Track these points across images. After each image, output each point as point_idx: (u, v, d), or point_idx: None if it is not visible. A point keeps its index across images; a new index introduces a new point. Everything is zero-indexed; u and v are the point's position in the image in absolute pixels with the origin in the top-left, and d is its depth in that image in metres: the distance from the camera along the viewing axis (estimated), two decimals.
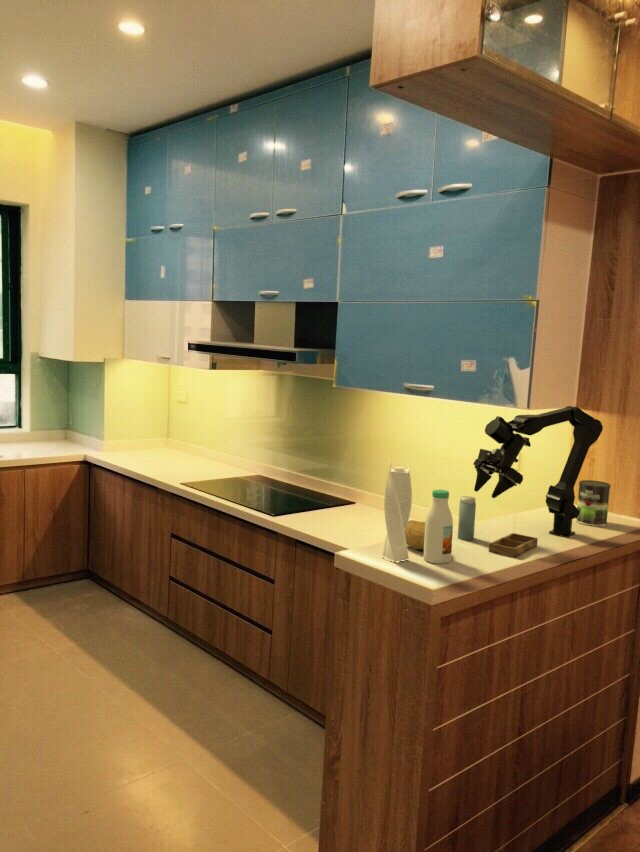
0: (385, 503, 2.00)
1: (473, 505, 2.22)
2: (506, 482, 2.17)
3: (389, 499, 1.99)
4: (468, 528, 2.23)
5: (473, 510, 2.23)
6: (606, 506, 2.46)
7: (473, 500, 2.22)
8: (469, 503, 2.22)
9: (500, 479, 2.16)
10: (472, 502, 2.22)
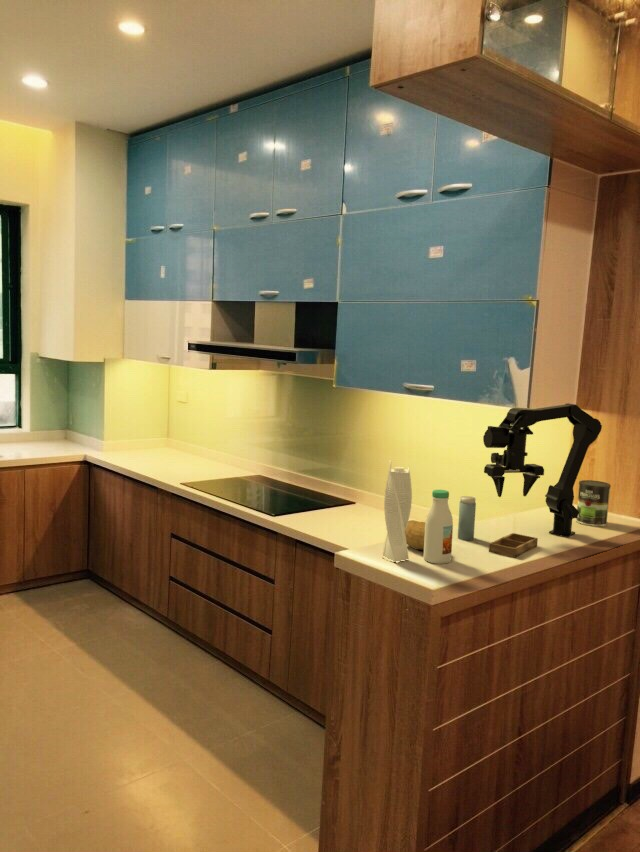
0: (385, 503, 2.00)
1: (473, 505, 2.22)
2: None
3: (389, 499, 1.99)
4: (468, 528, 2.23)
5: (473, 510, 2.23)
6: (606, 506, 2.46)
7: (473, 500, 2.22)
8: (469, 503, 2.22)
9: None
10: (472, 502, 2.22)
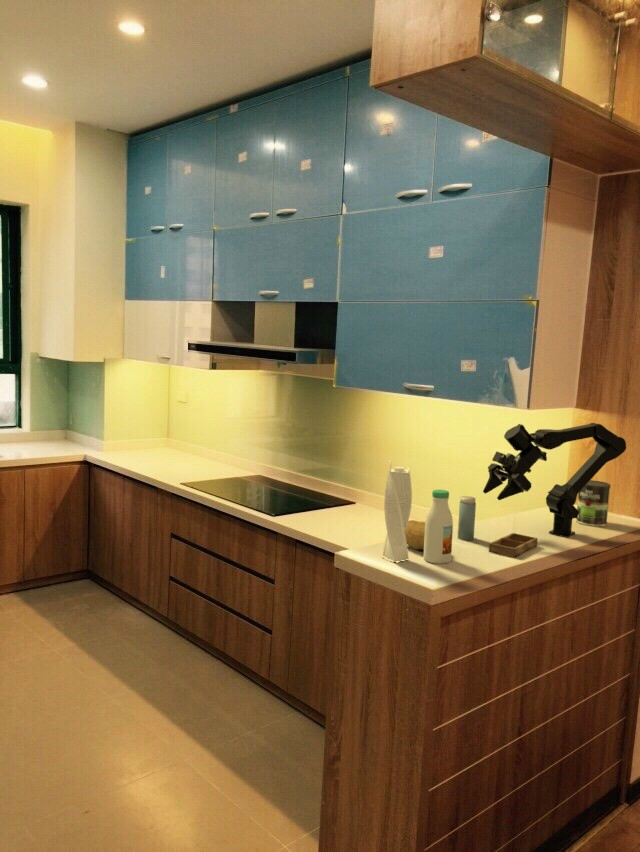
0: (385, 503, 2.00)
1: (473, 505, 2.22)
2: (514, 487, 2.21)
3: (389, 499, 1.99)
4: (468, 528, 2.23)
5: (473, 510, 2.23)
6: (606, 506, 2.46)
7: (473, 500, 2.22)
8: (469, 503, 2.22)
9: (509, 482, 2.20)
10: (472, 502, 2.22)
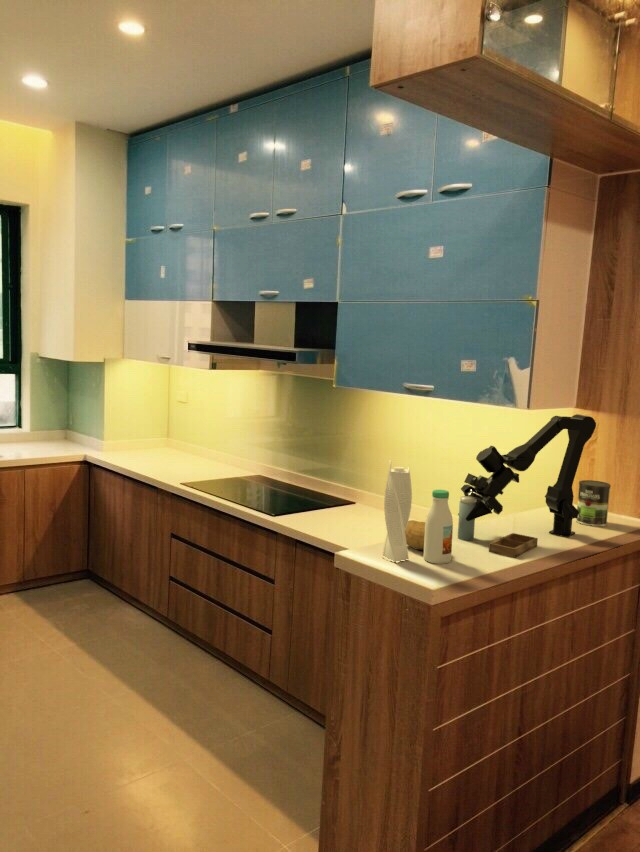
0: (385, 503, 2.00)
1: (473, 505, 2.22)
2: (483, 508, 2.22)
3: (389, 499, 1.99)
4: (468, 528, 2.23)
5: None
6: (606, 506, 2.46)
7: (473, 500, 2.22)
8: (469, 503, 2.22)
9: (477, 504, 2.21)
10: (472, 502, 2.22)
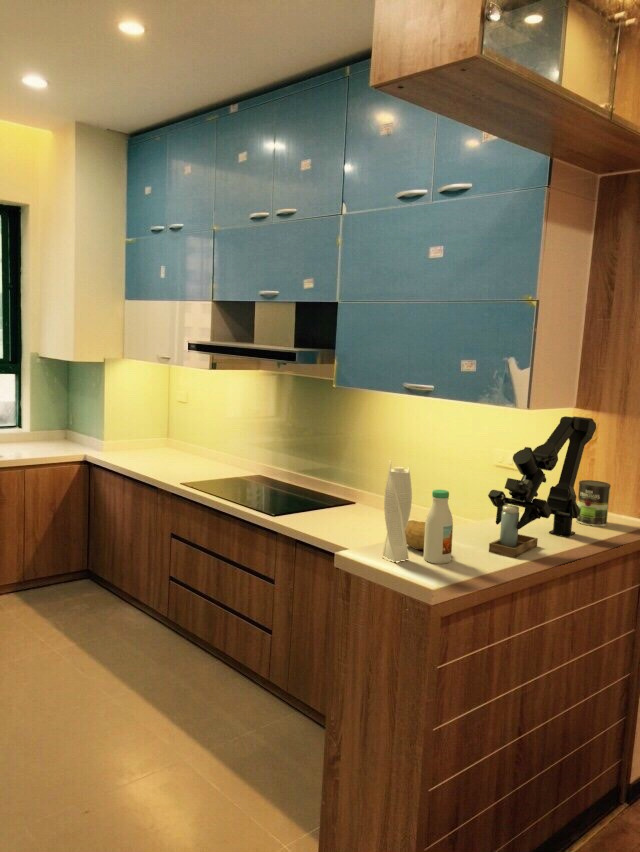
0: (385, 503, 2.00)
1: (518, 514, 2.10)
2: (530, 514, 2.10)
3: (389, 499, 1.99)
4: (515, 539, 2.10)
5: (518, 519, 2.10)
6: (606, 506, 2.46)
7: (518, 509, 2.10)
8: (516, 512, 2.09)
9: (527, 510, 2.08)
10: (518, 511, 2.10)
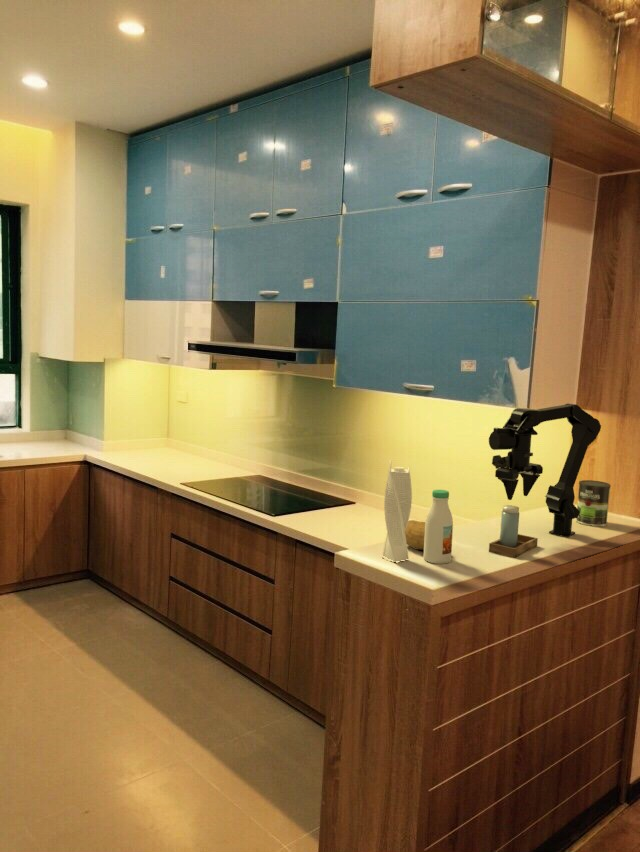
0: (385, 503, 2.00)
1: None
2: (510, 481, 2.21)
3: (389, 499, 1.99)
4: (515, 539, 2.10)
5: (518, 519, 2.10)
6: (606, 506, 2.46)
7: (518, 509, 2.10)
8: (516, 512, 2.09)
9: None
10: (518, 511, 2.10)
